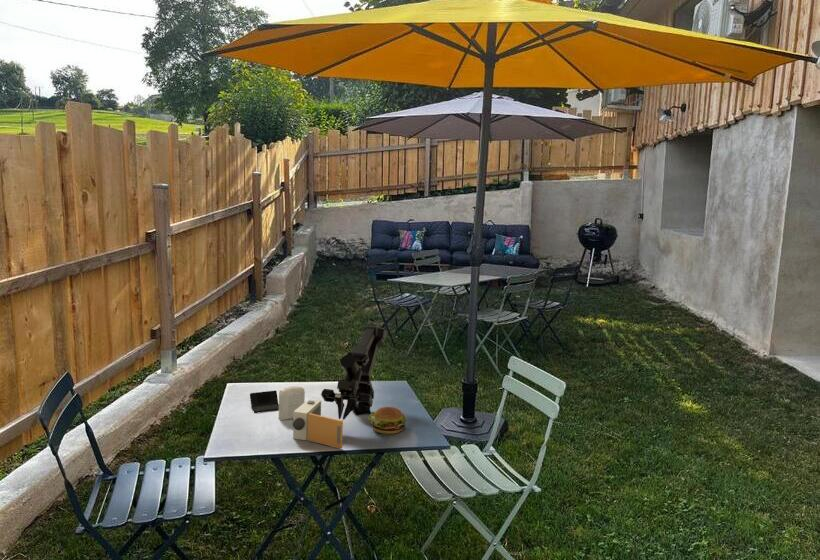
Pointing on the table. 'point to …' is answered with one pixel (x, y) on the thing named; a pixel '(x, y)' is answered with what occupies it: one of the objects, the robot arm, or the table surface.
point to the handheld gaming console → (264, 401)
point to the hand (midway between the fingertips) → (341, 419)
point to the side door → (324, 430)
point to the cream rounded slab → (290, 401)
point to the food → (387, 420)
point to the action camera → (304, 417)
